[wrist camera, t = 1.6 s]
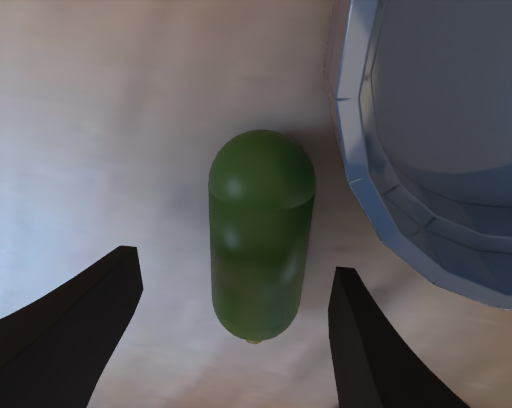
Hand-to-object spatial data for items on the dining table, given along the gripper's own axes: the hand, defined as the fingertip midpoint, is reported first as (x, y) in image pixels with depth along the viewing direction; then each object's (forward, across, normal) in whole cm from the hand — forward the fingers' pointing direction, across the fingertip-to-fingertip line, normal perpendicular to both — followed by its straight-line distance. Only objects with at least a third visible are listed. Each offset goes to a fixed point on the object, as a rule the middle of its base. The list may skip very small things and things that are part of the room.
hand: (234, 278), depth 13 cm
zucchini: (+4, 0, 0) cm, 4 cm away
